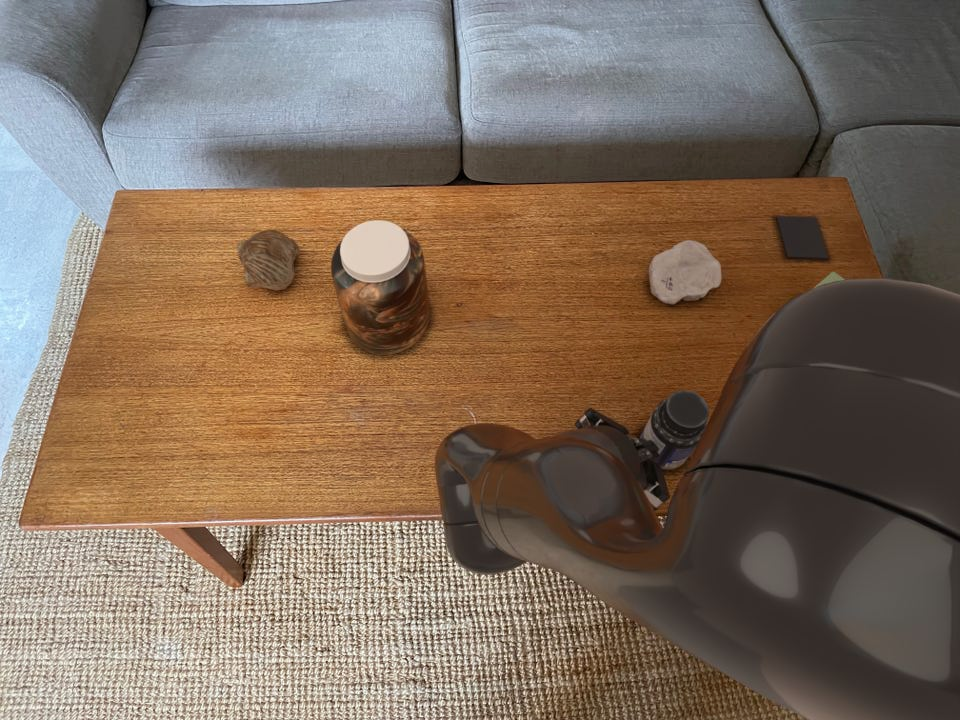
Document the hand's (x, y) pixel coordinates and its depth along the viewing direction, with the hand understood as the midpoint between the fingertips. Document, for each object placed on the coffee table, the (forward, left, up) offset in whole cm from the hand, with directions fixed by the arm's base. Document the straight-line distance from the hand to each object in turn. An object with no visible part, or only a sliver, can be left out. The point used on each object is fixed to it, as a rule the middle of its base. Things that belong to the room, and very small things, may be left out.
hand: (649, 450), depth 75 cm
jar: (+37, +11, -5) cm, 39 cm away
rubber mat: (+10, -46, -4) cm, 47 cm away
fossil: (+16, -25, -5) cm, 30 cm away
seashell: (+54, +19, -5) cm, 57 cm away
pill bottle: (0, -4, -5) cm, 6 cm away
